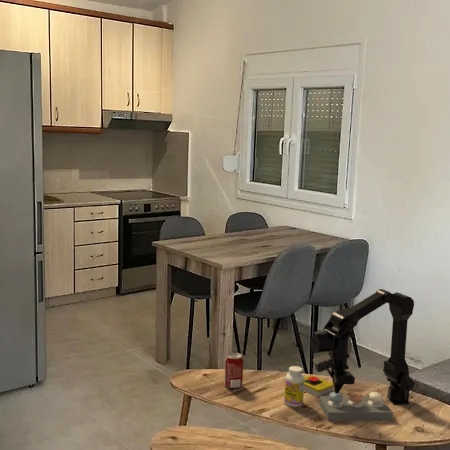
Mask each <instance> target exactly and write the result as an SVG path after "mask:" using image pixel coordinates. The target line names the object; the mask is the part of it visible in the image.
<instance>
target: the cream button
mask: <svg viewBox="0 0 450 450" xmlns="http://www.w3.org/2000/svg"><path fill="white" fill-rule="evenodd" d="M383 396H384V395H383V394H382V393H380V392H377V391H371V392H369V400H370V401H372V402H376V403H380V402H382V399H383Z"/></svg>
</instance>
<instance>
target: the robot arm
mask: <svg viewBox="0 0 450 450" xmlns="http://www.w3.org/2000/svg"><path fill="white" fill-rule="evenodd" d="M385 304H388V306H389V307H388V308H389V311H390V315H391V318H392V329H391V330H392V331H391V343H390V344H391V346H390V356H389V358H388V359H387V360H384V361H383V370H382V371H383V373H384V376H385V377H386V380H387V381H388V382H389V386H388V389H387V395H386V397H387V399H388V400H389V401H390V402H391V403H392V405H411V401H409V400H410V390H411V389H413V388H414V386H415V383H416V382H415V381H414V380H413V379H412V378H411V376H410V367H409V365H408V363H407V361H406V346H407V345H406V344H407V335H408V334H407V332H408V320H409V319H410V318H411V316H412V315H413V311H414V308H415V307H414V306H415V300H414V299H413V298H412V297H410V296H408V295H405V294H403V293H401V292H394V293H392V292H390V291H388V290H386V289H384V288H379V289H377V290H376V292H374V293H373V294H371V295H369V296H367V297H366V298H364V299H363V300H362V301H360V302H358V303H356V304H354V305H353V306H351V307H347V308H342V309H338V310H336V311H334V312H332V314H331V315H330V318H329V319H328V321H327V322H326V323H325V325H324V327H323V328H322V330H323V331H314V333H313V335H312V336H311V337H310V340H309V346H310V347H309V348H310V349H311V351H312V353H314V354H319V353H327V354H324V355H321V356H317V357H315V358H313V359H312V362H313V364H314V369H315V370H316V372H317V373H322V372H324V371H326V372H327V373H328V375H329V376H330V378H331V380H332V383H333V388H334V392H335V393H336V394H338V393H340V392H341V390H342V389H343V387H344V385H355V383H356V378H355V376H354V375H353V374H352V372H351V371H347V370H349V368H350V366H349V364H348V359H350V353H349V347H350V346H349V344H350V343H349V342H350V338H353V337H355V336H356V334H354V332H353V331H352V330H353V329H354V328H355V327H357V325H358V323H359V321H360V320H361V319H363V318H364V317H366V316H368V315H369V314H371V313H373V312H374V311H376V310H377V309H379V308H380V307H382V306H384V305H385Z"/></svg>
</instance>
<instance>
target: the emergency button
mask: <svg viewBox="0 0 450 450" xmlns="http://www.w3.org/2000/svg"><path fill="white" fill-rule="evenodd" d="M304 379H305V381H304V393H305V392H306V393H308V394H310V395H311V396H314V397H316V398H318V399H320V396H330V393H331V392H334V386H333V382H329V381H327V380H325V379H323V378H320V377H319V376H315V375H314V374H309V375H306V376H304Z"/></svg>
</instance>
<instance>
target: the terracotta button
mask: <svg viewBox="0 0 450 450" xmlns="http://www.w3.org/2000/svg"><path fill="white" fill-rule="evenodd" d="M348 396H349V400H350V401H352V402H356V403H360V402H362V399H363V396H364V395H363V394H362V393H360V392H358V391H352V392H350V393H349V395H348Z"/></svg>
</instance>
